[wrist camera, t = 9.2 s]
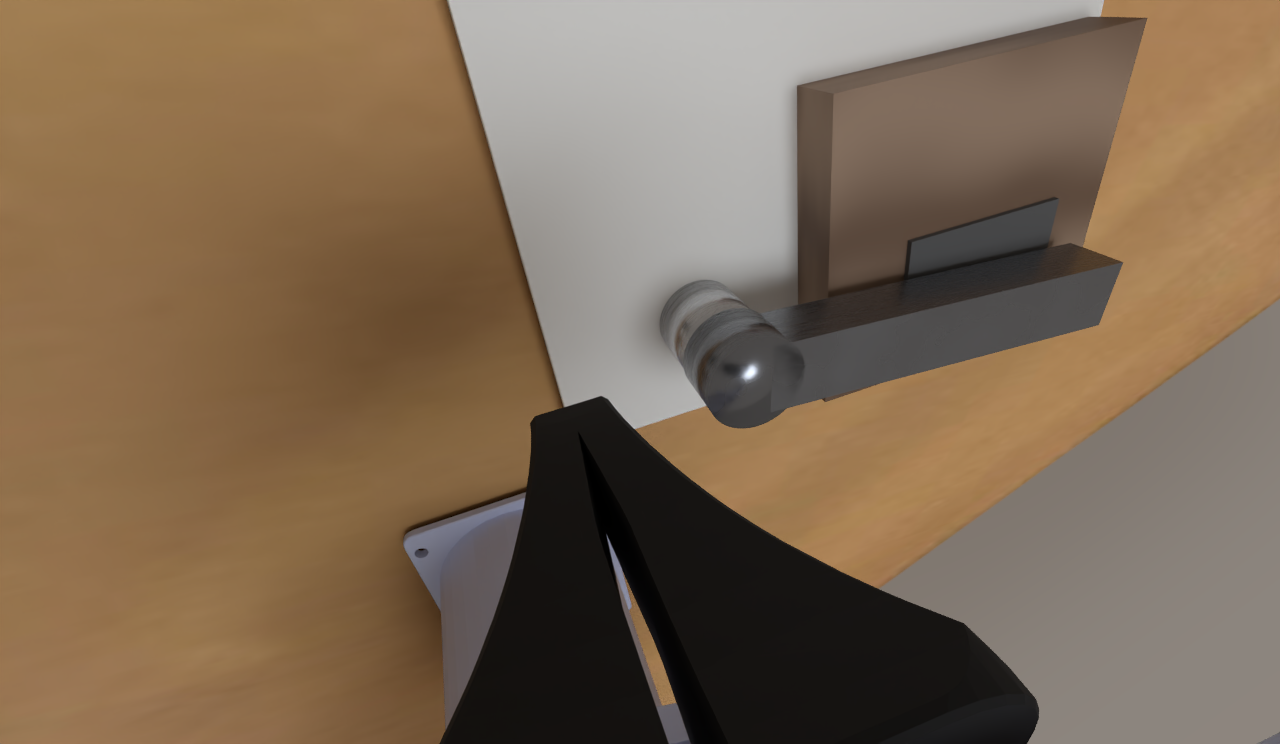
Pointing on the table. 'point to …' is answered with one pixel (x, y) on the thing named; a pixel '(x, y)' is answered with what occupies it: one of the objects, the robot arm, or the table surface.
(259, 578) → the table surface
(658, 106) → the plate
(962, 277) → the bar
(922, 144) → the door slab
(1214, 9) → the table surface
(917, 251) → the pad
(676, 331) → the post
